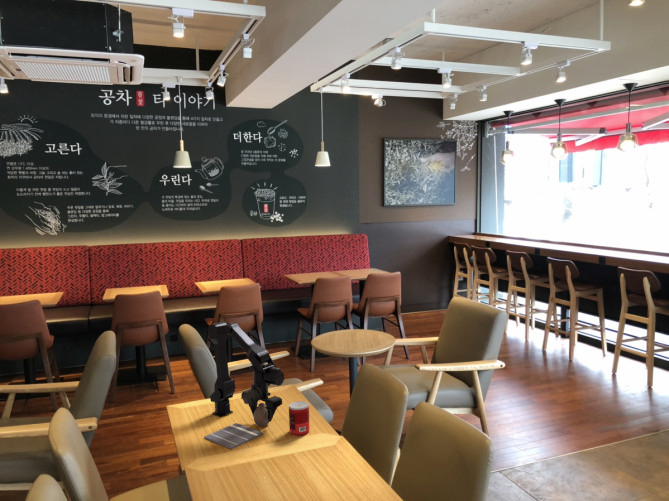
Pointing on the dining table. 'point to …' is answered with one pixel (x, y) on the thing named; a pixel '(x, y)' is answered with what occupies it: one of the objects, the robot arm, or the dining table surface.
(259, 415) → the vase
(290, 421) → the canned food
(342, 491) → the dining table surface
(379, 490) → the dining table surface
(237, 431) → the mat
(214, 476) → the dining table surface
